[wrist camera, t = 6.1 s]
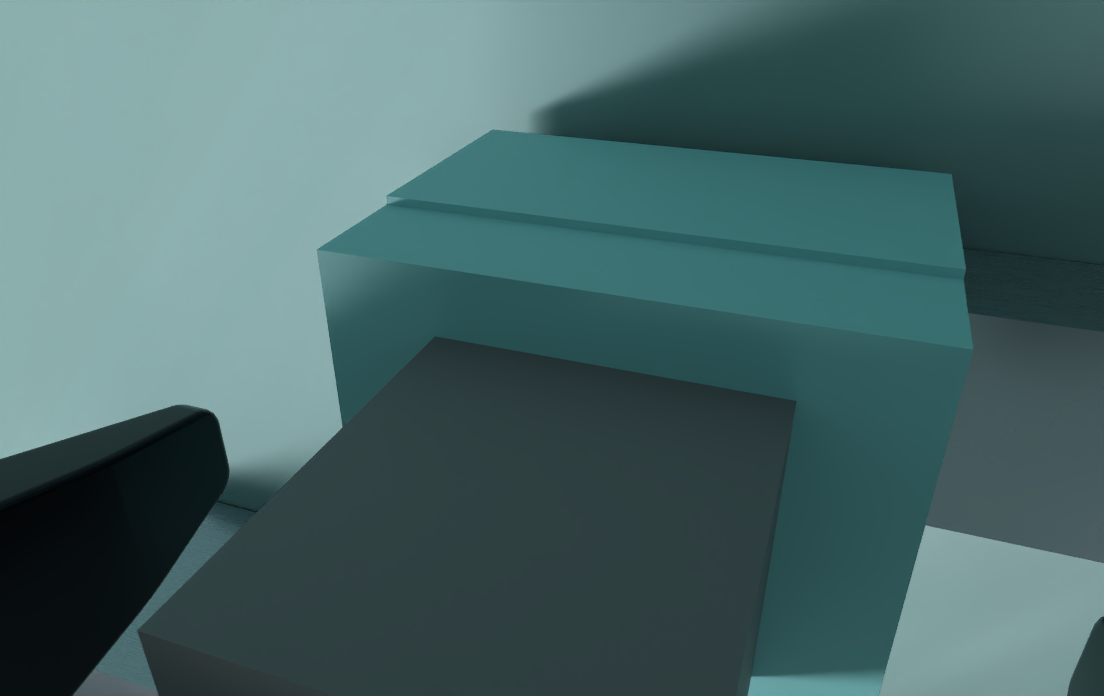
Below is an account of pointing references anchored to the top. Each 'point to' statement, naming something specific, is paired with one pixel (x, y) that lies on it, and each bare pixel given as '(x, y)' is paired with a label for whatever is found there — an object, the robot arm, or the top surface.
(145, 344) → the top surface
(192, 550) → the grey piece
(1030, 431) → the rail
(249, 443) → the top surface
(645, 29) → the top surface
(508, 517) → the carriage
